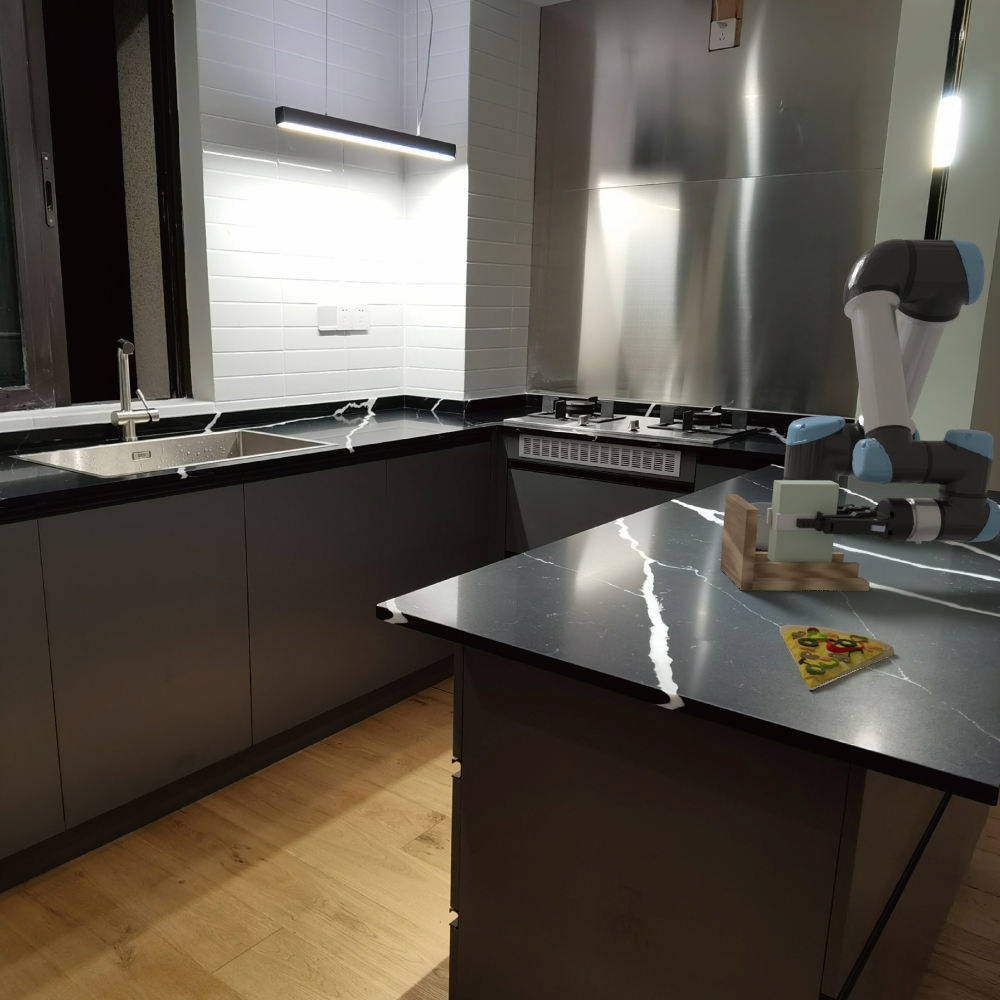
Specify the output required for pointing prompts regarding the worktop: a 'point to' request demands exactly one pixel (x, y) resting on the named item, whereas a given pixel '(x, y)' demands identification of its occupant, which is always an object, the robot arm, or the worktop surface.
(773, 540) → the pale green block
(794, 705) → the worktop surface
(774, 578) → the track
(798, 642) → the pizza slice
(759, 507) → the teacup
